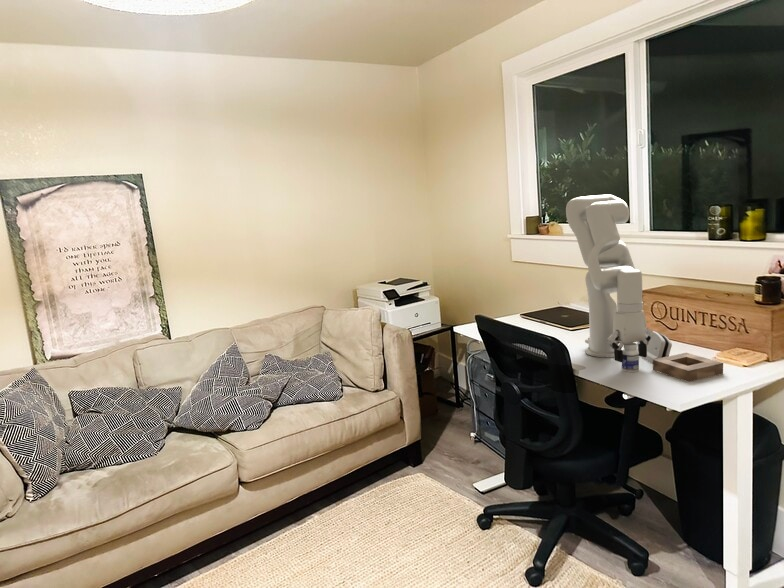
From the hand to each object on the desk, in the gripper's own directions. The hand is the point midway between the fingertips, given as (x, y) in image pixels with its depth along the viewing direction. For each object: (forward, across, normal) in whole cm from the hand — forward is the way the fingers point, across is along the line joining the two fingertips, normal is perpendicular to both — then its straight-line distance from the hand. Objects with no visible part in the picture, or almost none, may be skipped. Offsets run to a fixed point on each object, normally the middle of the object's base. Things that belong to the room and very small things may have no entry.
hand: (630, 358), depth 184 cm
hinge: (+4, -16, -8) cm, 18 cm away
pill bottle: (+4, 0, 0) cm, 4 cm away
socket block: (+4, -13, +11) cm, 17 cm away
